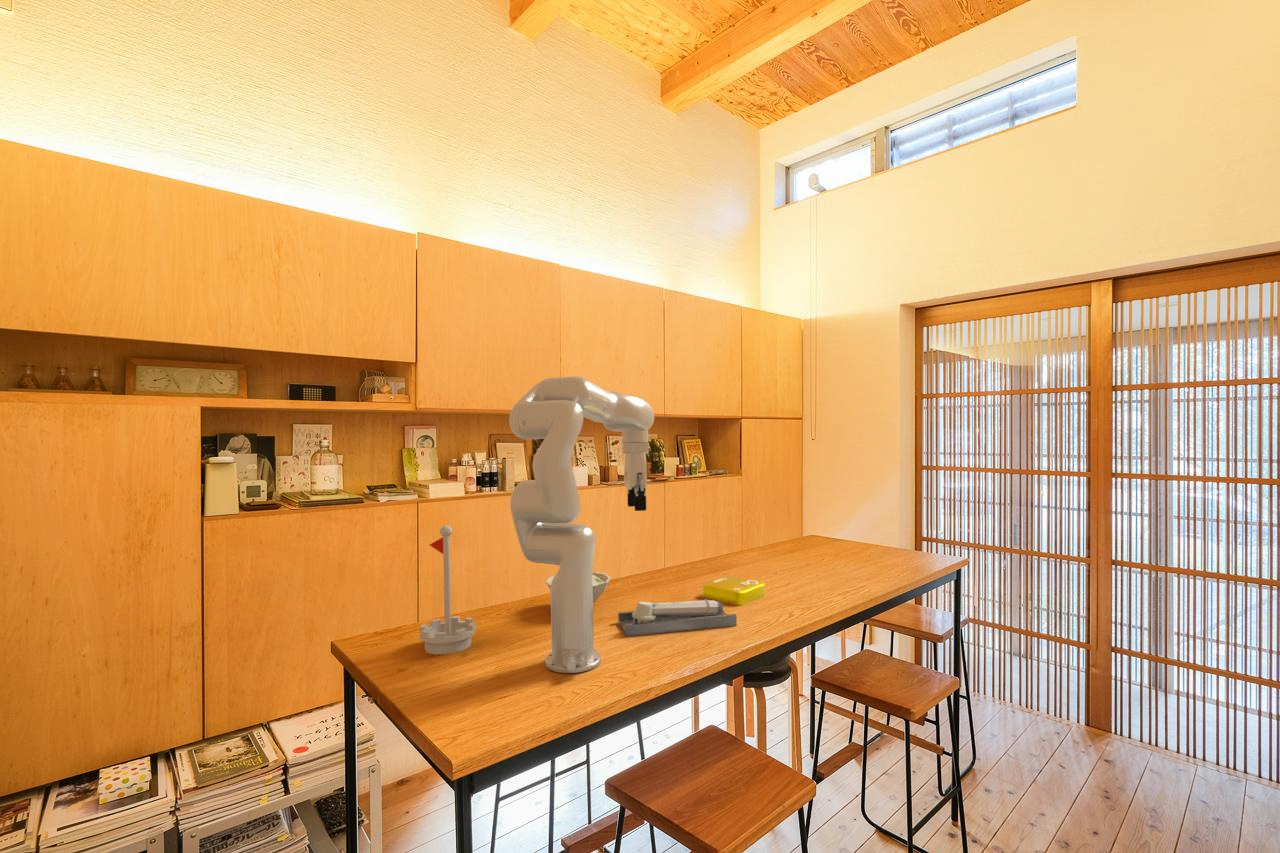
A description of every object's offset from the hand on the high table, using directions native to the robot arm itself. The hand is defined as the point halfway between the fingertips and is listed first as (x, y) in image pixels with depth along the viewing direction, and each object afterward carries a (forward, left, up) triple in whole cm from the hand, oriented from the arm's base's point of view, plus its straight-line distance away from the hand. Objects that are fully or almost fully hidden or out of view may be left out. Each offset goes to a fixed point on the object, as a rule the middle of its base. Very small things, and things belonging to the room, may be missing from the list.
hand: (636, 508), depth 167 cm
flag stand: (-11, +51, -31) cm, 60 cm away
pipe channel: (-11, -8, -30) cm, 33 cm away
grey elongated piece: (-11, -8, -30) cm, 33 cm away
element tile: (+10, -33, -31) cm, 46 cm away
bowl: (+10, +16, -31) cm, 36 cm away
